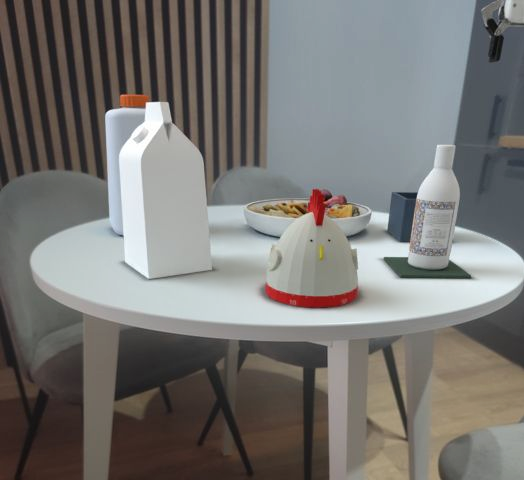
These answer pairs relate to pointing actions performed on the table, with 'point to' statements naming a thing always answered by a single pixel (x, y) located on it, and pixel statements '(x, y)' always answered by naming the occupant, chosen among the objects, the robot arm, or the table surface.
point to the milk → (163, 199)
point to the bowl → (288, 210)
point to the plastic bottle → (117, 134)
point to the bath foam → (435, 214)
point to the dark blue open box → (402, 215)
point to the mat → (408, 271)
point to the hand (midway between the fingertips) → (519, 62)
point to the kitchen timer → (313, 262)
